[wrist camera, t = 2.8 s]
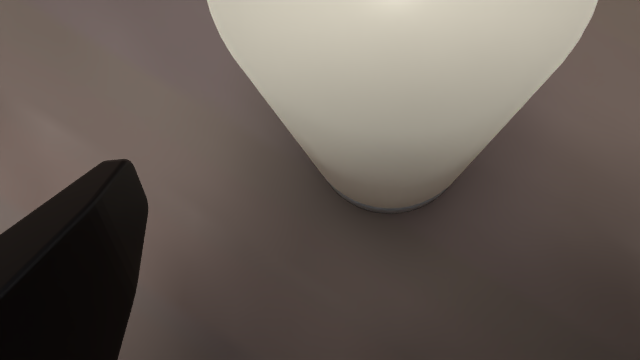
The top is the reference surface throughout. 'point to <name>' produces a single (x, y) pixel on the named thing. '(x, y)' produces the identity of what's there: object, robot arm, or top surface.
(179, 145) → the top surface
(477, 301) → the top surface
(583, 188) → the top surface
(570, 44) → the sleeve
